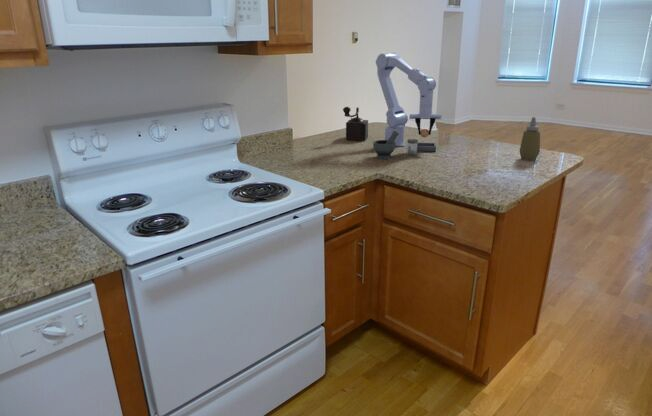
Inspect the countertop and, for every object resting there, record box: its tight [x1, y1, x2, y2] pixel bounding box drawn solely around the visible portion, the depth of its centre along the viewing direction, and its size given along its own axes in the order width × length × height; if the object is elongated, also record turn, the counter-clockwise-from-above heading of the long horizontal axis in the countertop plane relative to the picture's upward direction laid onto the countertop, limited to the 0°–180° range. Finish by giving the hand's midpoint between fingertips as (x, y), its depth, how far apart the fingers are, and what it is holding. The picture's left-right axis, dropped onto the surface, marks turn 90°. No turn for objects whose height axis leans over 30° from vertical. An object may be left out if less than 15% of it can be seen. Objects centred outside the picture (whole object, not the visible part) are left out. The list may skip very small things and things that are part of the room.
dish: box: [417, 142, 437, 153], centre depth 222 cm, size 11×8×2 cm
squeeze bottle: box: [519, 116, 541, 162], centre depth 198 cm, size 8×8×18 cm
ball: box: [419, 128, 430, 138], centre depth 219 cm, size 4×4×4 cm
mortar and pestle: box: [372, 131, 399, 160], centre depth 208 cm, size 11×9×12 cm
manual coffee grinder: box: [342, 106, 369, 142], centre depth 243 cm, size 16×11×18 cm
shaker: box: [406, 138, 419, 157], centre depth 212 cm, size 5×5×7 cm
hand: (424, 134), depth 220 cm, fingers closed on ball, 4 cm apart
